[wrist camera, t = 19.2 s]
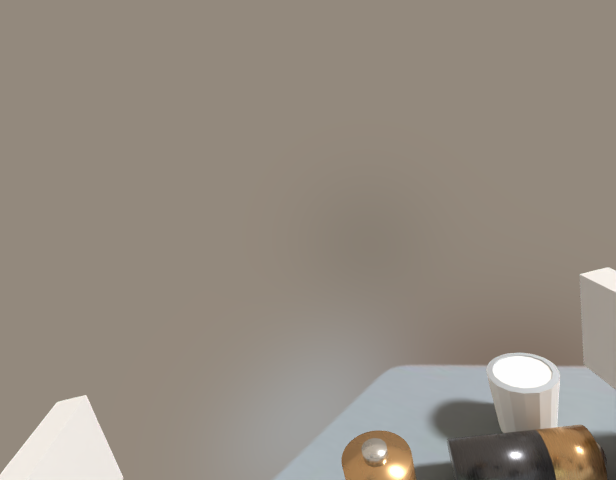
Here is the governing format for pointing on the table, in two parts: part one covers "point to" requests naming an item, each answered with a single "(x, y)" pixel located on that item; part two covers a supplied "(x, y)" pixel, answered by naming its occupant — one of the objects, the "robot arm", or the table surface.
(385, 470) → the cell
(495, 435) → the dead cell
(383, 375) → the table surface
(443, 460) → the table surface
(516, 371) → the white cup
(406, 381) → the table surface
